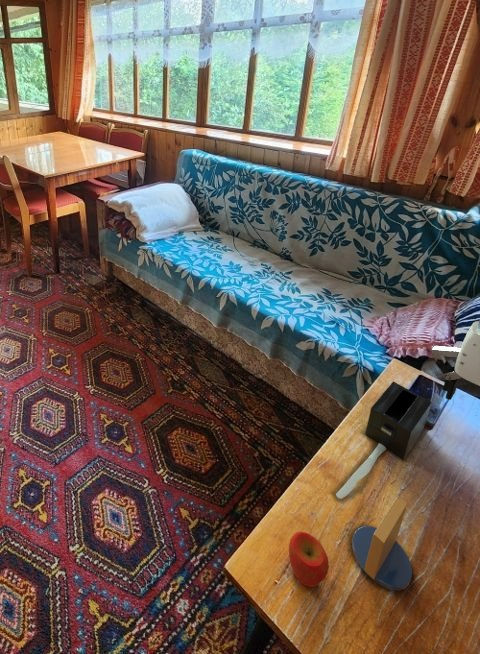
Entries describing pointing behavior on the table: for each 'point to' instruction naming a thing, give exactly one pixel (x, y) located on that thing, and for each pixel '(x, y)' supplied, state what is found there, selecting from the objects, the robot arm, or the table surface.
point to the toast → (385, 537)
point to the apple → (308, 559)
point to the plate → (393, 569)
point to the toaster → (398, 419)
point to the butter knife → (360, 472)
